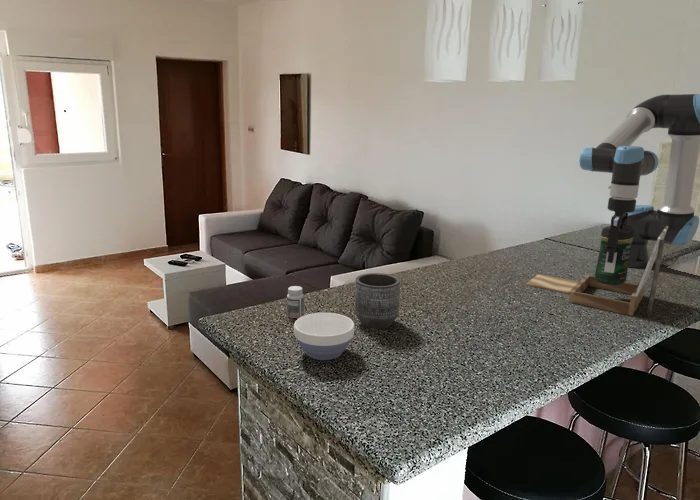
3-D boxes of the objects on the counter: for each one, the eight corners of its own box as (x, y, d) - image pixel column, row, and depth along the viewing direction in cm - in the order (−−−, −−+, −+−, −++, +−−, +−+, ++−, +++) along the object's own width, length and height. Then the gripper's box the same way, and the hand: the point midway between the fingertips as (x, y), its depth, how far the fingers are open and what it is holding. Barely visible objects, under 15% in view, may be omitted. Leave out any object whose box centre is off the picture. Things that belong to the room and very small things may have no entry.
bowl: (305, 371, 116) (305, 340, 114) (286, 345, 129) (286, 316, 127) (363, 360, 122) (364, 330, 120) (340, 336, 134) (340, 309, 132)
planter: (347, 318, 146) (348, 275, 143) (385, 312, 151) (387, 270, 147) (365, 335, 135) (367, 289, 132) (406, 328, 140) (408, 283, 137)
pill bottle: (296, 311, 150) (296, 284, 148) (307, 316, 147) (307, 288, 145) (283, 315, 147) (283, 287, 145) (294, 320, 144) (293, 292, 142)
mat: (538, 275, 188) (538, 273, 188) (578, 283, 180) (579, 281, 180) (525, 285, 177) (526, 283, 177) (568, 293, 170) (568, 292, 169)
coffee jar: (614, 288, 159) (623, 229, 154) (589, 281, 165) (597, 224, 160) (630, 282, 164) (639, 225, 159) (606, 275, 170) (614, 220, 165)
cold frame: (584, 284, 179) (594, 217, 173) (658, 298, 167) (672, 226, 160) (568, 302, 162) (578, 227, 156) (649, 319, 149) (664, 239, 143)
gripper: (615, 191, 168) (606, 258, 174) (601, 201, 151) (591, 274, 157) (642, 194, 164) (631, 262, 170) (630, 204, 147) (618, 279, 153)
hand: (612, 268), depth 163 cm, fingers closed on coffee jar, 9 cm apart
